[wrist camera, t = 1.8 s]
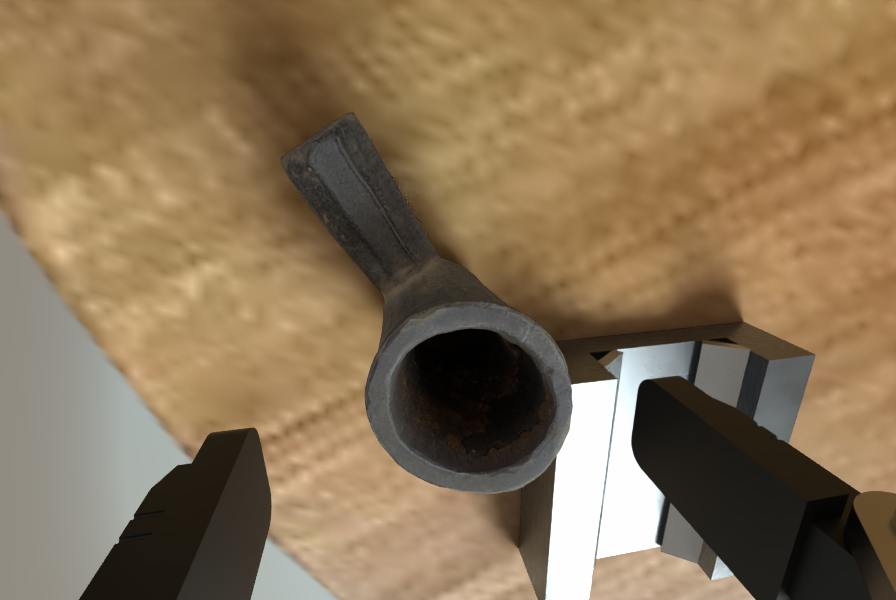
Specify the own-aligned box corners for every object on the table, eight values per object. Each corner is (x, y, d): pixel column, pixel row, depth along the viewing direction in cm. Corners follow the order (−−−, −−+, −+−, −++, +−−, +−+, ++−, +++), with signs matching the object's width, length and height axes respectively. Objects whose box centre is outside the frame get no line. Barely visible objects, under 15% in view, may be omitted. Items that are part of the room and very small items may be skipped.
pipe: (380, 96, 16) (393, 53, 9) (526, 338, 21) (612, 439, 14) (251, 182, 17) (161, 209, 9) (425, 403, 21) (456, 536, 14)
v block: (528, 344, 21) (562, 385, 18) (744, 322, 23) (815, 354, 20) (518, 549, 26) (544, 615, 22) (699, 516, 28) (749, 571, 24)
